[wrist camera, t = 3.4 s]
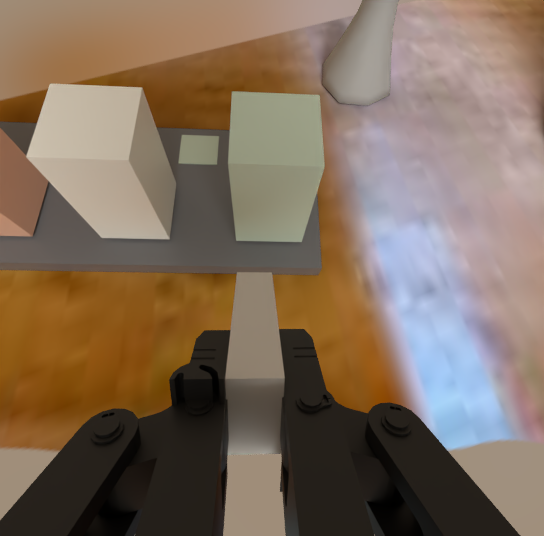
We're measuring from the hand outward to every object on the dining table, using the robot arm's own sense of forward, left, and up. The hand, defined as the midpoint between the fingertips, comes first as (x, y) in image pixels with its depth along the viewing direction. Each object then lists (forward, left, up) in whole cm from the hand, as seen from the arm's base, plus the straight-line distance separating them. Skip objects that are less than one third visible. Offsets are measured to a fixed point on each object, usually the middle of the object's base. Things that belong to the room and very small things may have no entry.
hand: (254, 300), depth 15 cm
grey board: (+9, -12, -11) cm, 18 cm away
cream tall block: (+9, -10, -9) cm, 16 cm away
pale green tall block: (-1, -10, -9) cm, 13 cm away
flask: (-10, -27, -11) cm, 31 cm away
